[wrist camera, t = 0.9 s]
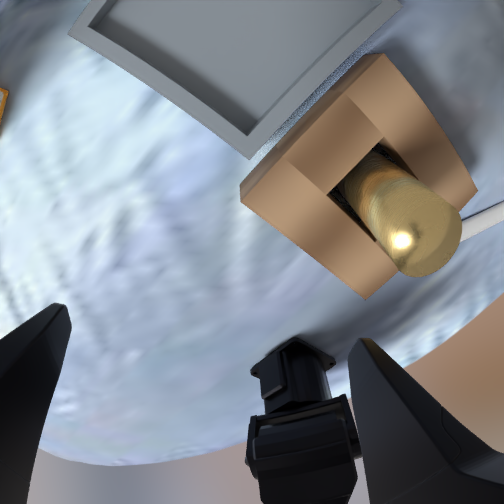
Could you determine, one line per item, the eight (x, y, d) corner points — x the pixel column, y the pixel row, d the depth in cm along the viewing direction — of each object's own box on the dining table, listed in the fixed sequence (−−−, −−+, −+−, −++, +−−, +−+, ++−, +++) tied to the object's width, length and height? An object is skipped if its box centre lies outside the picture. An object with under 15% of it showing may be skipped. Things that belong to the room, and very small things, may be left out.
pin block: (455, 176, 20) (478, 190, 18) (353, 276, 25) (365, 300, 22) (363, 55, 16) (383, 53, 13) (239, 184, 20) (240, 201, 18)
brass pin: (397, 176, 20) (472, 237, 13) (360, 213, 22) (417, 289, 14) (364, 137, 19) (440, 183, 11) (324, 178, 20) (376, 246, 13)
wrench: (556, 195, 22) (559, 154, 19) (565, 200, 21) (568, 159, 18) (396, 277, 26) (389, 229, 23) (404, 288, 24) (398, 238, 22)
